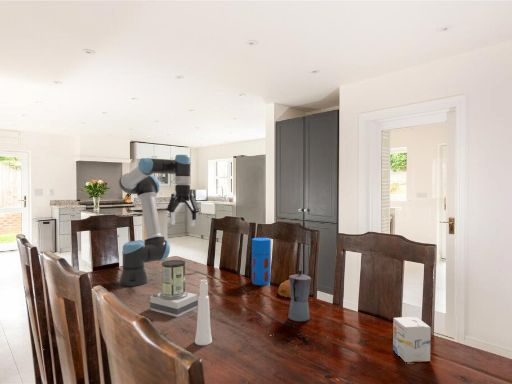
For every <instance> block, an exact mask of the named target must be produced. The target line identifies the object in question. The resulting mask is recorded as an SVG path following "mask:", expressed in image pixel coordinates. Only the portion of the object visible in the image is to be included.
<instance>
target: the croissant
mask: <svg viewBox="0 0 512 384" xmlns="http://www.w3.org/2000/svg"><path fill="white" fill-rule="evenodd" d="M277 294H278V295H279V296H281V297H283V296H284V298H287V297H289V298H288V299H291V293H290V281H289V279H287V280H285V281H284V282H282V283H280V285H279V287H278V289H277Z"/></svg>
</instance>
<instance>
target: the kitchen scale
mask: <svg viewBox="0 0 512 384" xmlns="http://www.w3.org/2000/svg"><path fill="white" fill-rule="evenodd" d="M149 300H150V303H149V308H150V311H153V312H157V313H160V314H164V315H168V316H172V317H176V318H179V317H181V316H183V315H185V314H187V313H189V312H190V311H191V312H192V311H193V310H196V309H198V294H197V293H196V294H195V293H192V292H188V291H186V290H185V294H184V295H181V296H177V297H166V296H163V295H162V292H159V293H153V294H152V295H151V296H150V299H149Z"/></svg>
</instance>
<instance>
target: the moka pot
mask: <svg viewBox="0 0 512 384" xmlns="http://www.w3.org/2000/svg"><path fill="white" fill-rule="evenodd" d="M302 273H303V270H298V274H292V275H289V276H288V278H289V279H288V280H289V281H290V293H291V298H290V304H289V308H288V316H287V317H288V319H289V320H291V321H295V322H306V321H307V322H308V321H309V320H310V309H309V301H308V300H309V296H310V290H311V283H312V278H311V276H309V275H306V274H302Z"/></svg>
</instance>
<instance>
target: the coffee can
mask: <svg viewBox="0 0 512 384" xmlns="http://www.w3.org/2000/svg"><path fill="white" fill-rule="evenodd" d="M161 278H162V279H161V282H162V283H161V285H162V286H161V287H162V288H161V289H162V292H161V293H162V295H163V296H166V297H177V296H181V295H184V294H185V291H186V261H185V260H182V259H173V260H172V259H171V260H166V261H163V262H161Z"/></svg>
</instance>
